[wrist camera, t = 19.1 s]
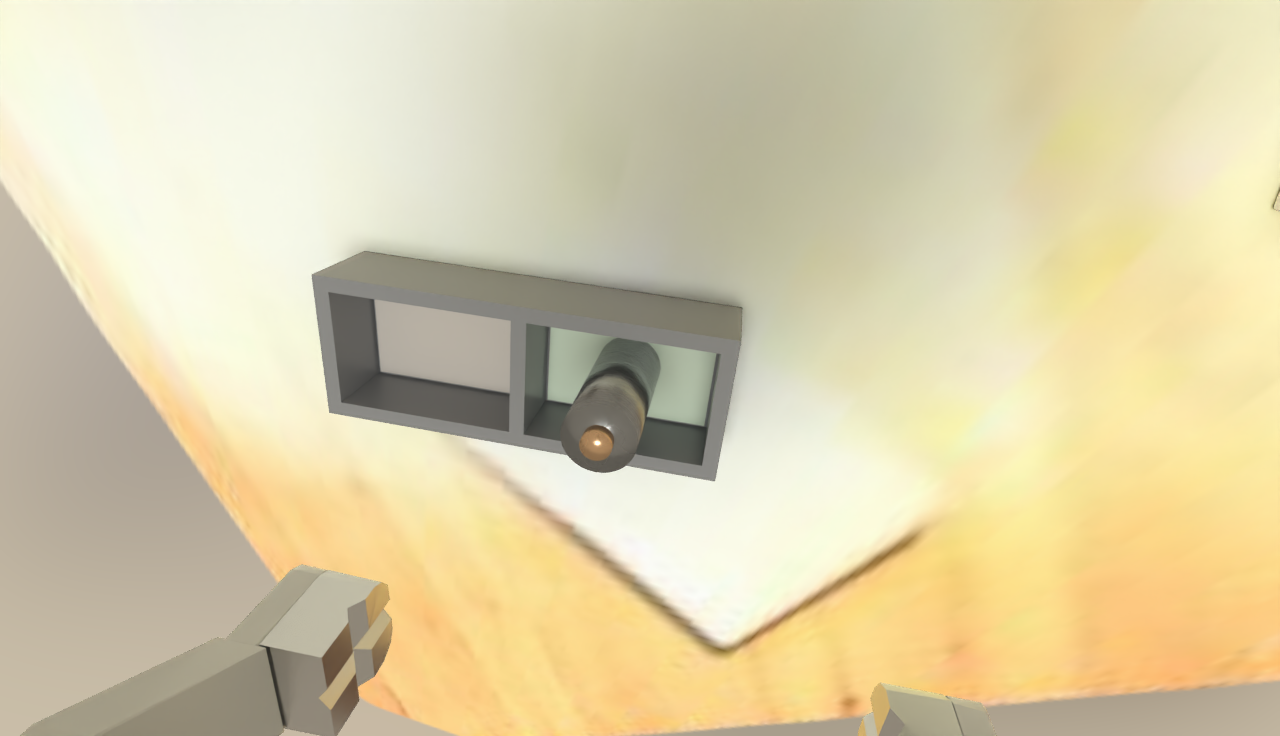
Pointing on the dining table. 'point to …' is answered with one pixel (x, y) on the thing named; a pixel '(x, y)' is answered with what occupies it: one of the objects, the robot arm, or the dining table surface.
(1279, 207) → the ink cartridge box
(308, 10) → the dining table surface
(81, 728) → the robot arm
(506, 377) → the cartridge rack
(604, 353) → the metal cell
